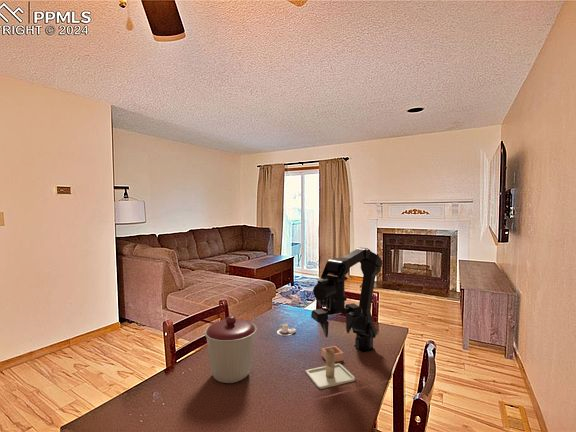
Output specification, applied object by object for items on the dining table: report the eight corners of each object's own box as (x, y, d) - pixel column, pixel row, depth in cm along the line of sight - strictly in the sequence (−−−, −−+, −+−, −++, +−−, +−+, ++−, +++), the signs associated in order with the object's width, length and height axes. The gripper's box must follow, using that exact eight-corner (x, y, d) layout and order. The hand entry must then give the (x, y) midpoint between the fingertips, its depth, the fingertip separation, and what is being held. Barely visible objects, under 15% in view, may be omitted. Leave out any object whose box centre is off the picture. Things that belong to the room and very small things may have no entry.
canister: (264, 366, 116) (264, 311, 115) (242, 395, 99) (241, 329, 98) (222, 358, 122) (221, 305, 121) (194, 384, 105) (193, 322, 104)
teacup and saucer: (298, 332, 148) (298, 323, 148) (289, 338, 142) (289, 329, 141) (282, 328, 153) (282, 320, 153) (273, 334, 146) (273, 325, 146)
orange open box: (335, 354, 126) (335, 345, 126) (343, 361, 120) (343, 352, 120) (321, 357, 124) (321, 348, 124) (329, 364, 118) (329, 355, 118)
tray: (339, 366, 117) (339, 363, 117) (356, 381, 107) (356, 378, 106) (305, 373, 112) (305, 370, 112) (319, 390, 101) (319, 387, 101)
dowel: (331, 373, 111) (331, 348, 111) (335, 377, 108) (336, 352, 108) (324, 374, 110) (324, 349, 110) (328, 379, 107) (328, 353, 107)
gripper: (346, 285, 126) (346, 322, 127) (304, 291, 119) (305, 330, 120) (362, 292, 116) (363, 333, 117) (318, 299, 109) (318, 343, 110)
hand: (337, 334), depth 116 cm, fingers open, 9 cm apart
